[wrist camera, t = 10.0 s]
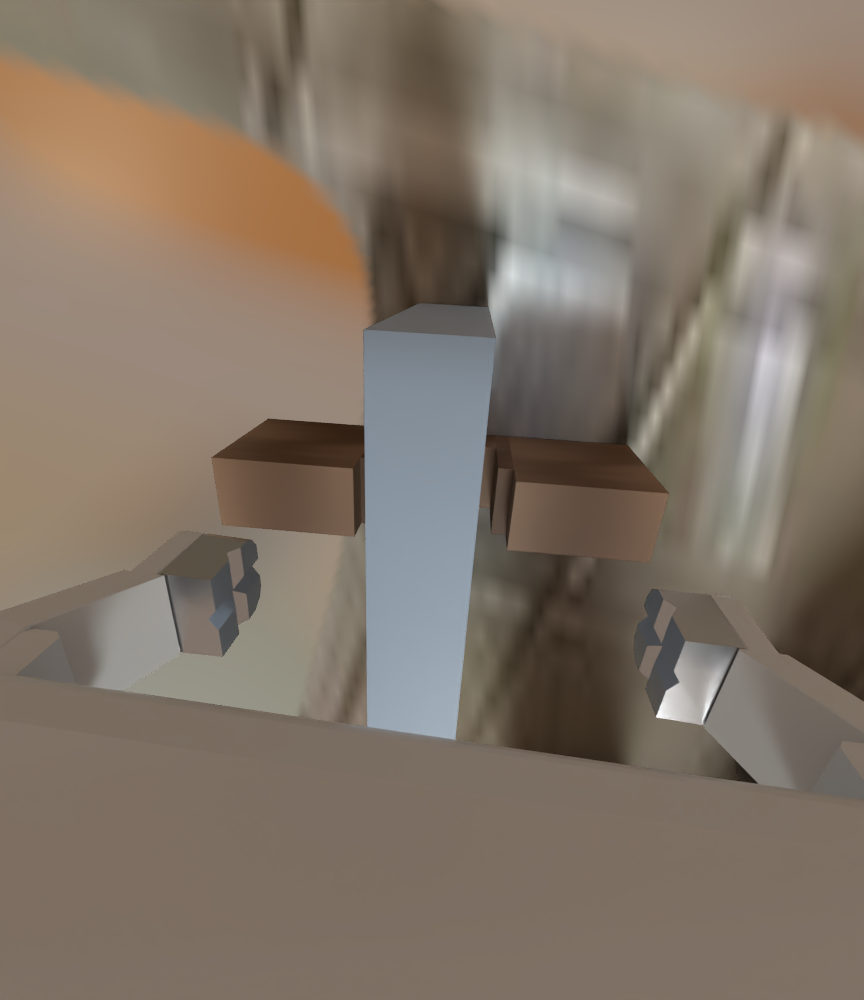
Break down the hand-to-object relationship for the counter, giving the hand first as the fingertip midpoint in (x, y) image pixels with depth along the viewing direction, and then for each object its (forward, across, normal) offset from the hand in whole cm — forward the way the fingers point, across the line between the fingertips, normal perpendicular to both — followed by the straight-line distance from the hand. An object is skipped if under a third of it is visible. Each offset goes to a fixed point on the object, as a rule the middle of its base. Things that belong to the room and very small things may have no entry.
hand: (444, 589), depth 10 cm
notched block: (+10, +1, +1) cm, 10 cm away
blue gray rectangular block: (+10, +1, +1) cm, 10 cm away
